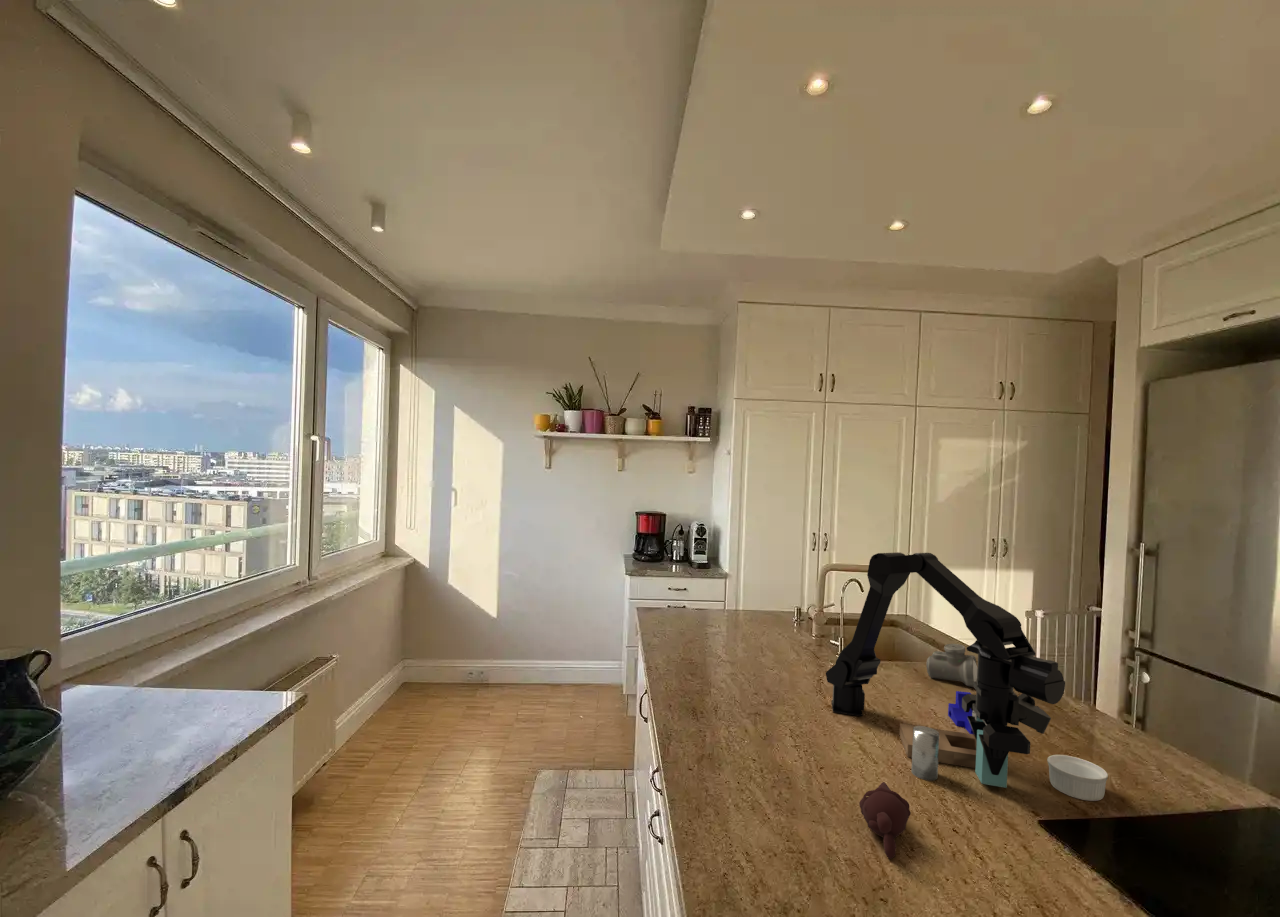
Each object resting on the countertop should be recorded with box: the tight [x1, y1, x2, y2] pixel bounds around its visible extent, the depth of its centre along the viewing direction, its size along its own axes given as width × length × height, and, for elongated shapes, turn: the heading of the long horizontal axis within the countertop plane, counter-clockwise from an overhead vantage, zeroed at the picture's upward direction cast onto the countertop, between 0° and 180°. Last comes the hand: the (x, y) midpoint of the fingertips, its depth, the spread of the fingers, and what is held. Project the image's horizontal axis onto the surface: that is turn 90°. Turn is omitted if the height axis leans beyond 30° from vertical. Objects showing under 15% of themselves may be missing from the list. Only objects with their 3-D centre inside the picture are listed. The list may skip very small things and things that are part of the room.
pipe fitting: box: [925, 643, 978, 688], centre depth 162 cm, size 12×8×10 cm
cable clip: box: [947, 690, 974, 734], centre depth 133 cm, size 12×4×6 cm, turn 170°
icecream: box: [858, 781, 912, 859], centre depth 93 cm, size 7×7×15 cm
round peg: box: [910, 725, 939, 782], centre depth 111 cm, size 4×4×8 cm
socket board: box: [898, 723, 977, 769], centre depth 120 cm, size 16×10×2 cm, turn 75°
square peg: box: [974, 730, 1009, 789], centre depth 108 cm, size 4×4×8 cm
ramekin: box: [1046, 754, 1109, 802], centre depth 108 cm, size 9×9×4 cm
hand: (991, 768), depth 108 cm, fingers closed on square peg, 4 cm apart
